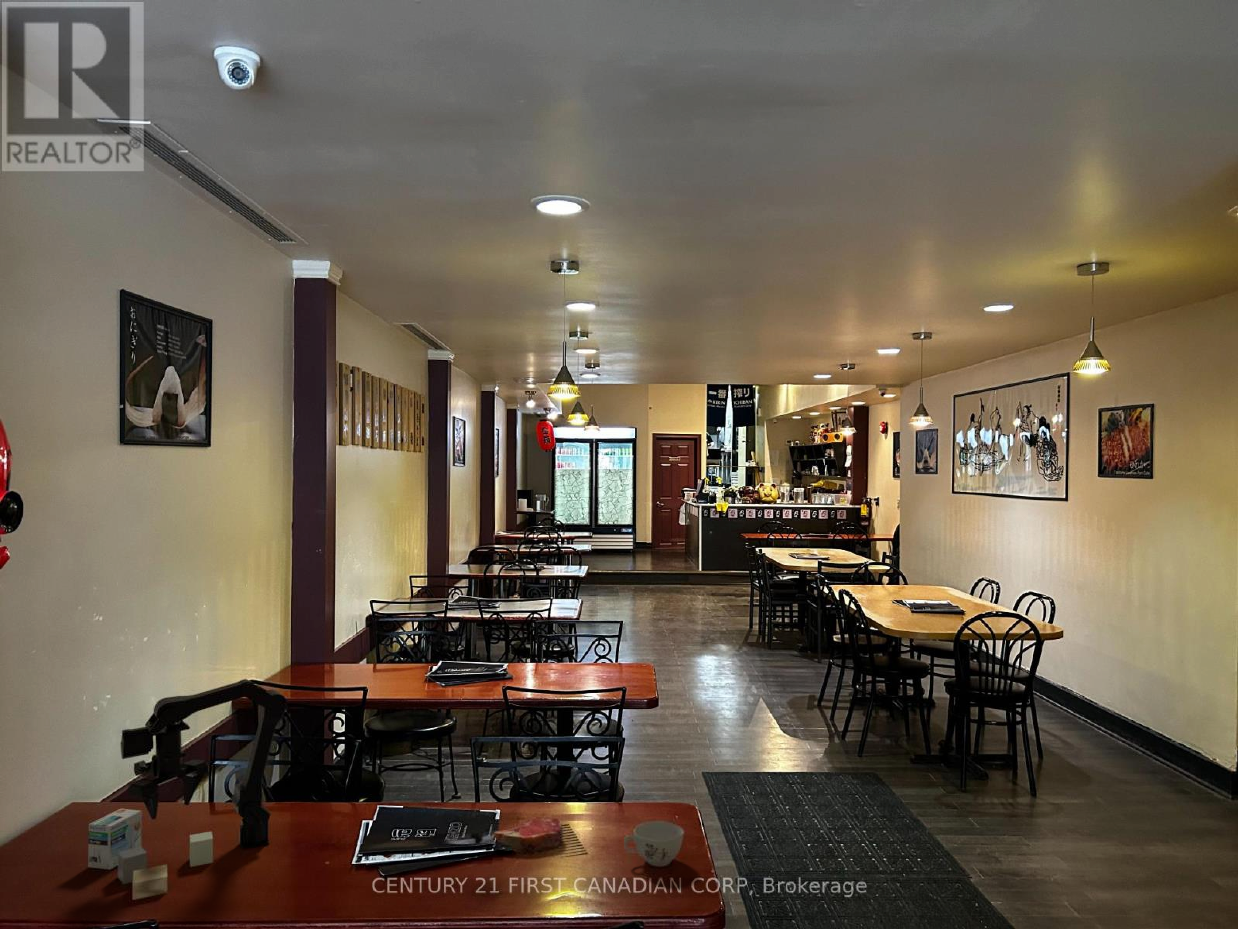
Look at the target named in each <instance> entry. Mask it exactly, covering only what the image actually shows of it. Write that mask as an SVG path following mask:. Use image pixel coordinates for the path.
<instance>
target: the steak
mask: <svg viewBox="0 0 1238 929" xmlns="http://www.w3.org/2000/svg"><path fill="white" fill-rule="evenodd" d="M563 829H564V830H563ZM493 835H494V839H495V838H496V840H497V841H498V842H501V843H503V844H505V845H510V846H512V847H513V848H514V849H515V851H516V852H515V853H517V852H523V853H522V854H530V855H533V854H536V853H542V852H546V851H553V850H555V849H556V850H558V851H557V852H558V854H557V856H560V855H562V853H560V852H563V855H566V854H568V855H566V856H564V858H567V857H568V858H570V857H577V856H582V855H589V853H588V852H587V849H585V847H584V846H583V844H582V843H581V842H582V841H580V839H579V838H578V836H576V833H575V831H573V828H572V827H571V826H570V824H569V823H567V824H566V823H565V824H562V821H561V820H560V819H559V818H557V817H549V816H546V817H543V818H541V819H540V817H539V816H535V817H533V818H529V819H527V820H525V821H523V822H522V824H520V825H517V826H515V827H513V828H509V829H508V828H507V829H505V830H497V831H496V830H495V832H494V833H493ZM564 837H565V838H564ZM564 840H565V841H564ZM567 845H570V846H567ZM561 846H563V847H561ZM574 847H576V848H574ZM567 848H568V849H567ZM569 848H570V849H569ZM560 849H565V850H560ZM574 850H578V851H574ZM569 851H572V852H569ZM582 852H583V853H582ZM559 853H560V854H559ZM573 853H574V854H573ZM575 853H578V854H575ZM569 854H571V855H569ZM560 858H563V856H560V857H558V859H560Z"/></svg>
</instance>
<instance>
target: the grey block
mask: <svg viewBox="0 0 1238 929" xmlns="http://www.w3.org/2000/svg"><path fill="white" fill-rule="evenodd" d="M147 865H148V852H147V851H146V850H145V849H144V847H142V845H141V846H140V847H136V848H133V849H129V850H125V851H121V852H118V865H117V878H118V879H119V880H120V882H121V883H122V885H126V884H129V883H133V871H136V870H141V869H146V868H148V866H147Z"/></svg>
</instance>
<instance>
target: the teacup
mask: <svg viewBox="0 0 1238 929" xmlns="http://www.w3.org/2000/svg"><path fill="white" fill-rule="evenodd" d="M684 834H685V831H684V829H683V828H682V827H681V826H679V825H677V824H674V823H672V822H669V821H664V820H654V821H646V822H642V823H640V824H638V825H637V826H635V828H634V829H633V835H631V834H629V835H627V836H625V837H624V839H623V840H624V841H623V845H624V848H625V850H626V851H627V852H628V853H630V854H636V855H639V856H641V857H642V858H643V859H644V860H645V861H646V862H647V864H648V865H651V866H653V867H661V868H662V867H665V866H668V865H670V864H671V863H672V861H673V860H674V859H675V858H676V857H677V855H678V854H679V851H680V849H681V846H682V845H683V844H682V843H683V840H684ZM629 841H632V842H633V844H635V846H636V848H637V850H634V849H632V848H630V847H629V846H628V842H629Z"/></svg>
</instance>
